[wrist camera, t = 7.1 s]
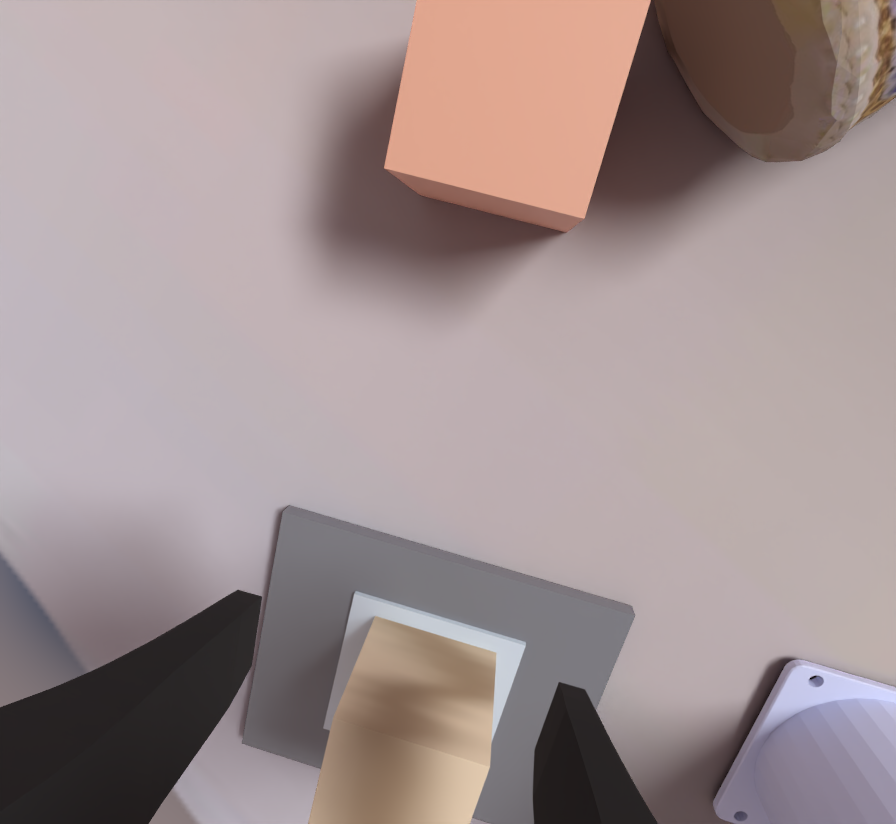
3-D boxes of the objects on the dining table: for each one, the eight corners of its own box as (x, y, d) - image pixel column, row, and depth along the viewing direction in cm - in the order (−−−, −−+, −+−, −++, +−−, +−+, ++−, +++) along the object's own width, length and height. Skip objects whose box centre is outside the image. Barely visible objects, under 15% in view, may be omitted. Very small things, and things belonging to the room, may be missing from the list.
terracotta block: (616, 63, 16) (658, -25, 11) (566, 232, 17) (584, 218, 13) (457, 25, 16) (431, -77, 12) (420, 195, 18) (383, 168, 13)
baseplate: (631, 606, 20) (636, 618, 20) (541, 826, 24) (541, 844, 23) (289, 505, 21) (280, 514, 20) (248, 732, 25) (239, 747, 24)
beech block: (496, 652, 21) (489, 766, 16) (464, 747, 22) (449, 879, 17) (375, 615, 21) (333, 717, 16) (351, 712, 23) (306, 831, 18)
